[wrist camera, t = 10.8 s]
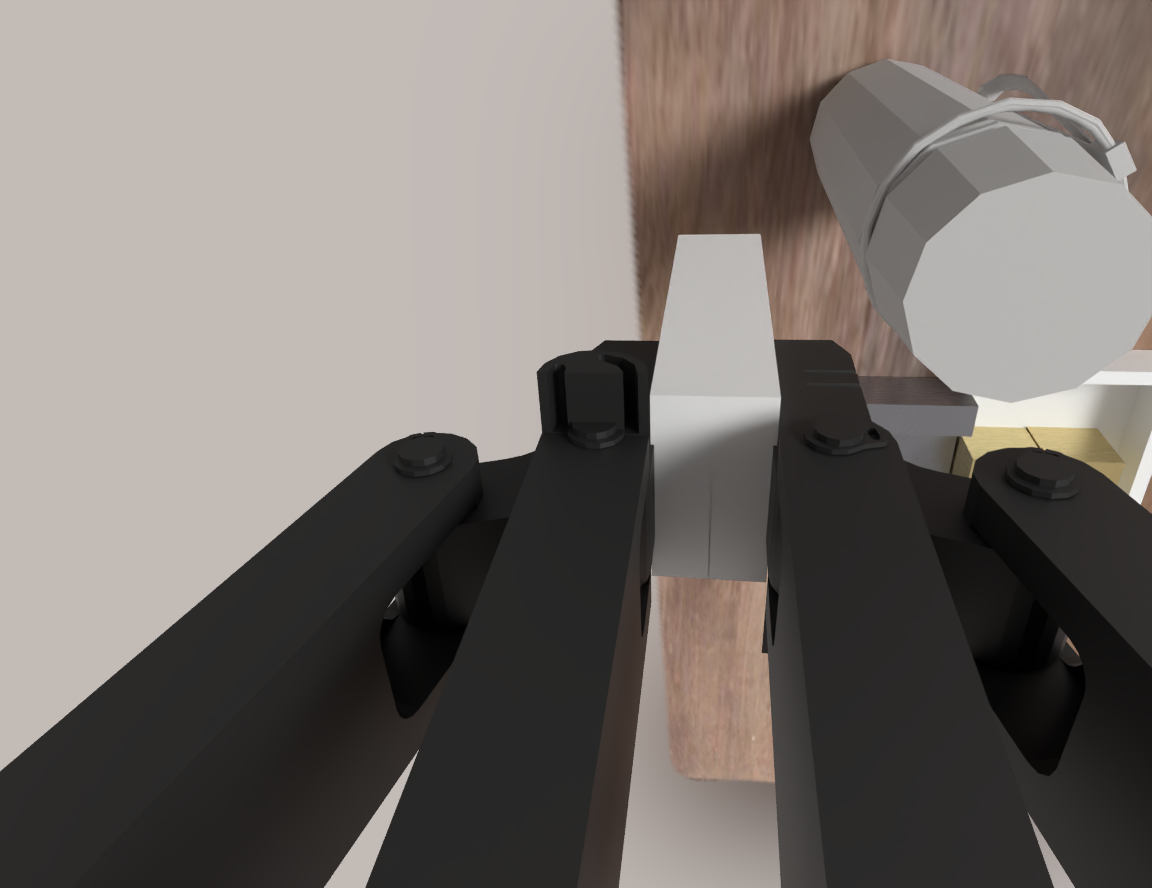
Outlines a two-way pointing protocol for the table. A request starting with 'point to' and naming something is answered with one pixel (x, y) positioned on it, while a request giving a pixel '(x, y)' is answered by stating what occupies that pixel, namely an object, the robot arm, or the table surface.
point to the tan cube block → (986, 446)
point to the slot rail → (921, 416)
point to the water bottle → (987, 227)
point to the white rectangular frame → (1095, 414)
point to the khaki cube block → (1081, 447)
